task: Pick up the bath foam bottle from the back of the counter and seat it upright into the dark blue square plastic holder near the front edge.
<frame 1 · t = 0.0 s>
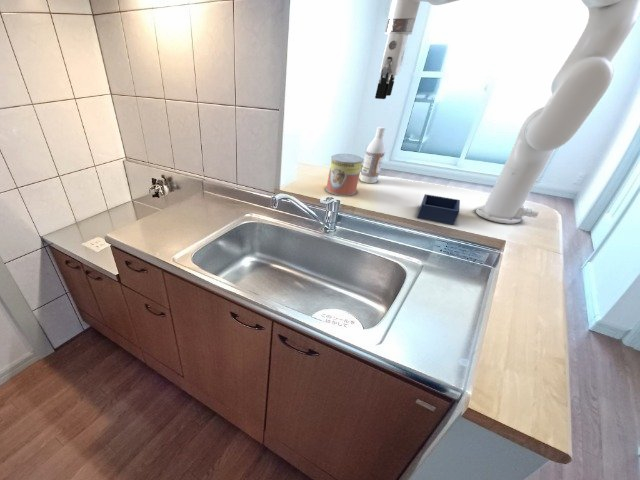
hand: (382, 96, 105), 31 cm above the worktop, tool pointing down, fingers open, 9 cm apart
canned food: (340, 190, 125), on the worktop
holder: (435, 215, 107), on the worktop
bath foam: (368, 181, 134), on the worktop
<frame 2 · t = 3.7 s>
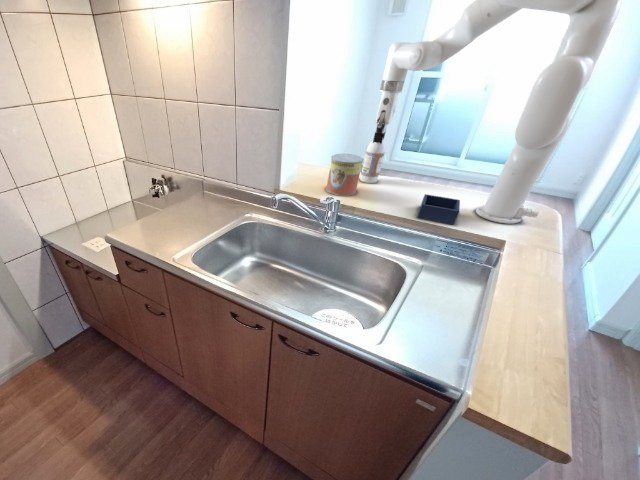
hand: (377, 142, 125), 15 cm above the worktop, tool pointing down, fingers closed on bath foam, 2 cm apart
bath foam: (368, 181, 134), on the worktop, touching gripper
everything else where it was.
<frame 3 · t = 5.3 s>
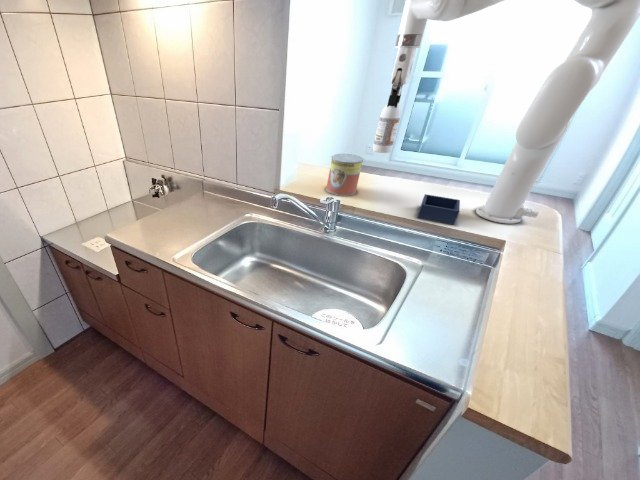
hand: (392, 107, 116), 27 cm above the worktop, tool pointing down, fingers closed on bath foam, 2 cm apart
bath foam: (381, 151, 125), point 12 cm above the worktop, touching gripper
everything else where it was.
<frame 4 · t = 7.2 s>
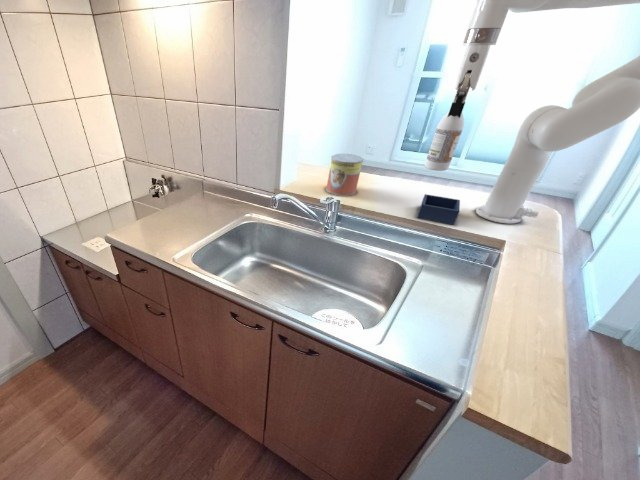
hand: (453, 117, 96), 28 cm above the worktop, tool pointing down, fingers closed on bath foam, 2 cm apart
bath foam: (435, 168, 105), point 13 cm above the worktop, touching gripper
everything else where it was.
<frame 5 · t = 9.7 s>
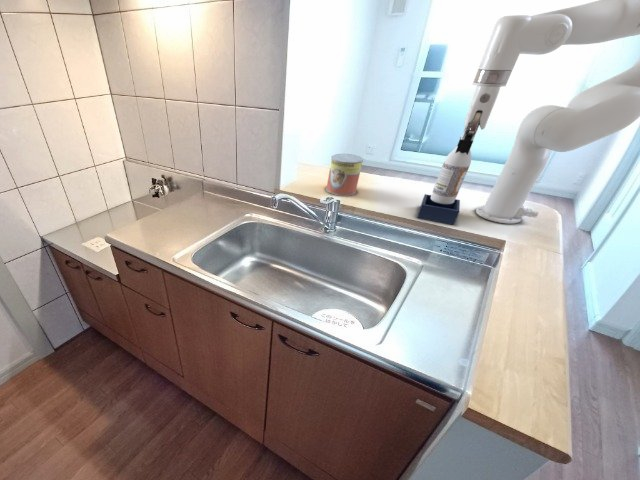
hand: (461, 153, 95), 20 cm above the worktop, tool pointing down, fingers closed on bath foam, 2 cm apart
bath foam: (441, 201, 104), point 5 cm above the worktop, touching gripper
everything else where it was.
when the fingers open (15 cm above the worktop, at t = 11.1 s): bath foam stays where it is, resting on holder.
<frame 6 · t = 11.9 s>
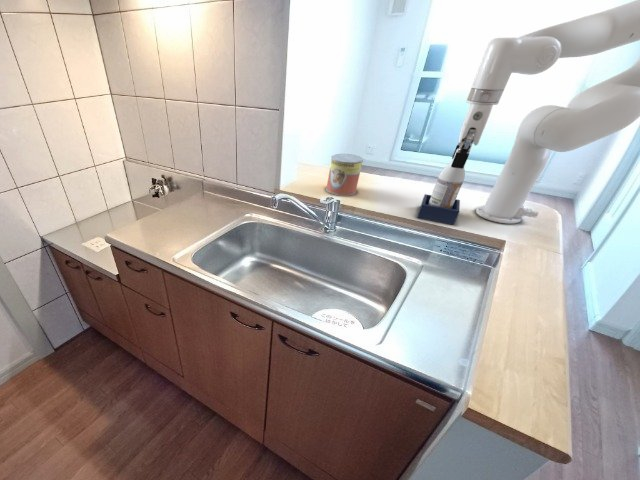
hand: (457, 163, 97), 17 cm above the worktop, tool pointing down, fingers open, 9 cm apart
bath foam: (436, 214, 107), resting on holder
everything else where it was.
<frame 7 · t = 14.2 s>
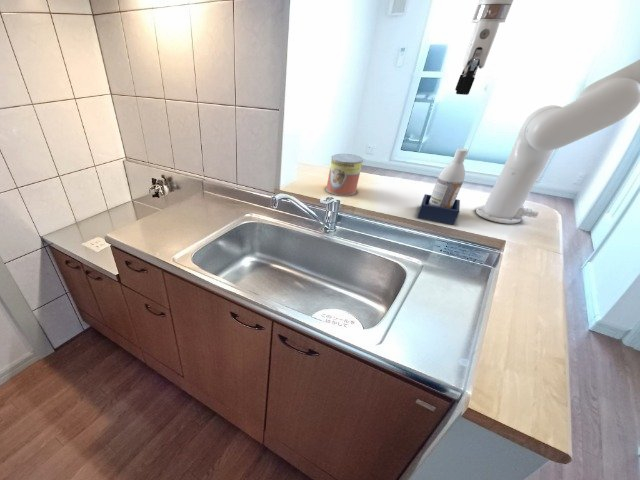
hand: (461, 92, 95), 34 cm above the worktop, tool pointing down, fingers open, 9 cm apart
nothing on the worktop moved.
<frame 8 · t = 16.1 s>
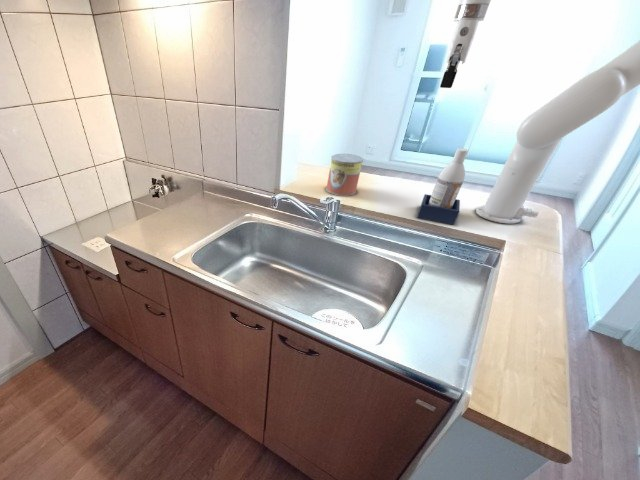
hand: (446, 86, 102), 34 cm above the worktop, tool pointing down, fingers open, 9 cm apart
nothing on the worktop moved.
at the end: bath foam 0.1 cm off-centre in the holder, point 0.3 cm above the holder's base; bath foam tilted 0°; the gripper is holding nothing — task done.
